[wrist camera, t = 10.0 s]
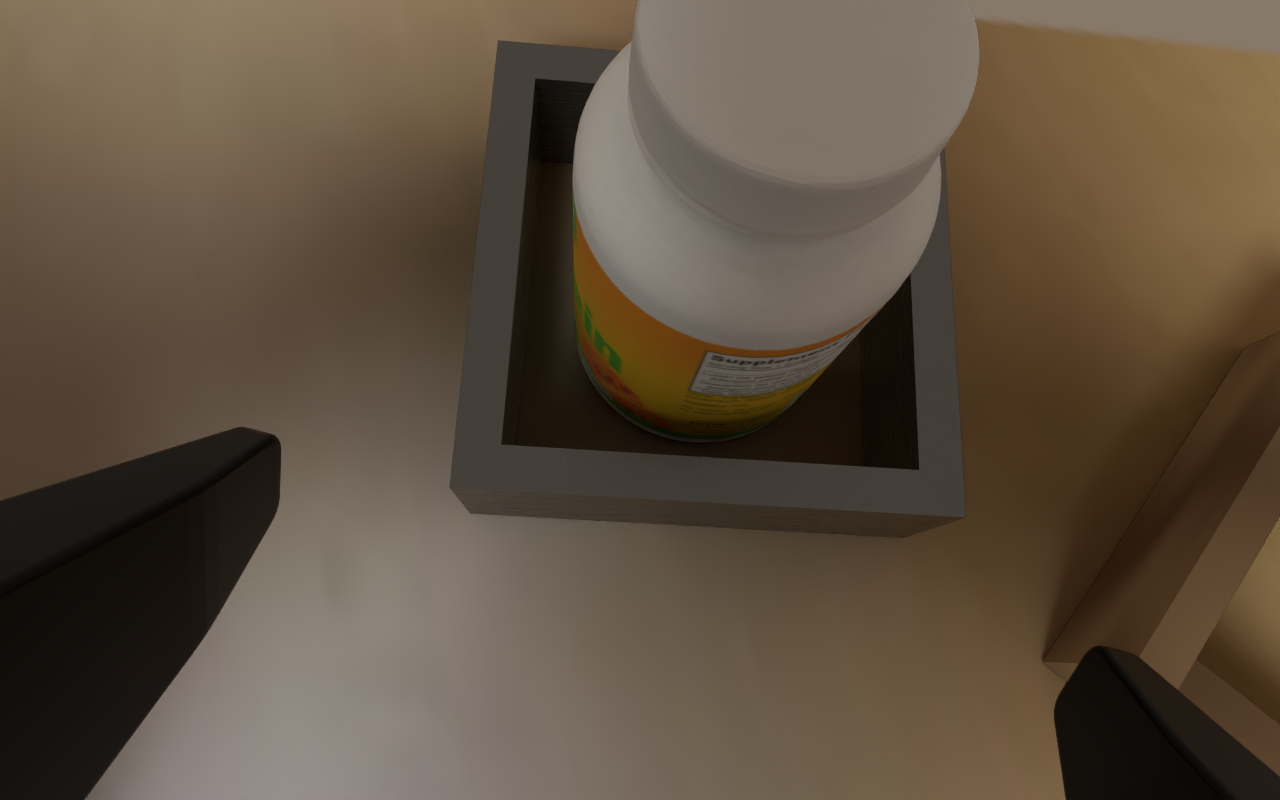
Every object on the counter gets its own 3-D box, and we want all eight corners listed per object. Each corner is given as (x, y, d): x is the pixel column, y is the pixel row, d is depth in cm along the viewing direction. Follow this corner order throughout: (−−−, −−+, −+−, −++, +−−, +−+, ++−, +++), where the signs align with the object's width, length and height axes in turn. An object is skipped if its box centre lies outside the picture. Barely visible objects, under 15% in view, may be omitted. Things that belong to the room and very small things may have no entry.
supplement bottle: (553, 237, 19) (531, -141, 10) (783, 202, 20) (963, -182, 11) (598, 469, 18) (621, 283, 9) (843, 424, 19) (1110, 206, 9)
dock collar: (903, 537, 18) (981, 512, 15) (470, 513, 18) (444, 481, 14) (889, 158, 21) (952, 59, 17) (509, 127, 20) (495, 19, 17)
